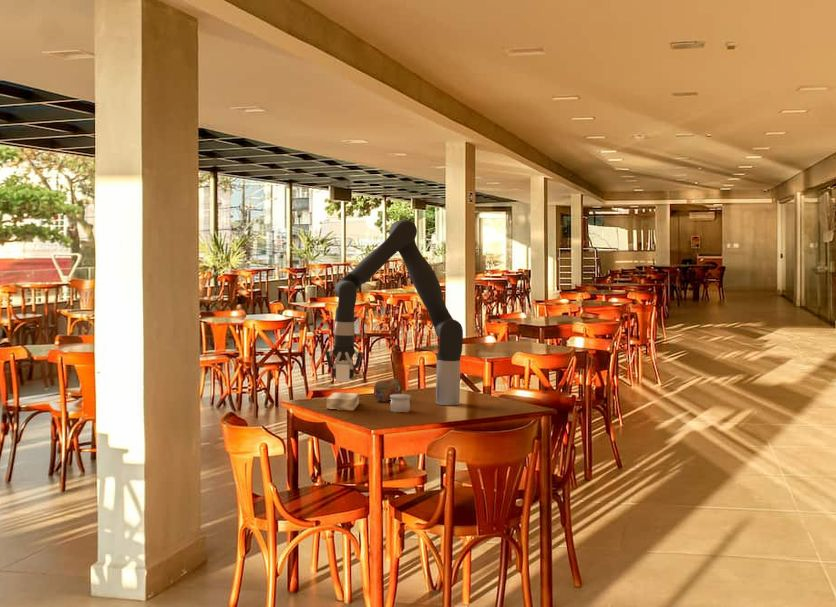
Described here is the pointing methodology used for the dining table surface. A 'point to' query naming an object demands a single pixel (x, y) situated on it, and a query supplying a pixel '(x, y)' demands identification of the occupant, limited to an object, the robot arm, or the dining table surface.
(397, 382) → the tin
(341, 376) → the green and cream block
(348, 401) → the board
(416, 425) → the dining table surface
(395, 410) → the sugar bowl
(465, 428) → the dining table surface
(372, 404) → the dining table surface
